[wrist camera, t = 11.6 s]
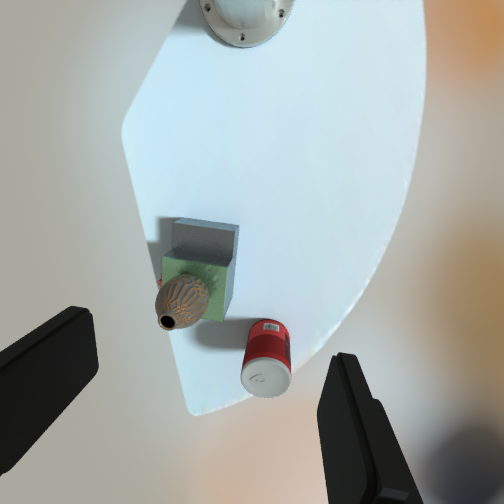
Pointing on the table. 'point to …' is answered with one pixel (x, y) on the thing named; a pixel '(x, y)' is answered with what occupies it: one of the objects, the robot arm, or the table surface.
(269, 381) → the canned food
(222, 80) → the table surface
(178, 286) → the vase
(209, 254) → the stand
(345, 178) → the table surface
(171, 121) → the table surface
